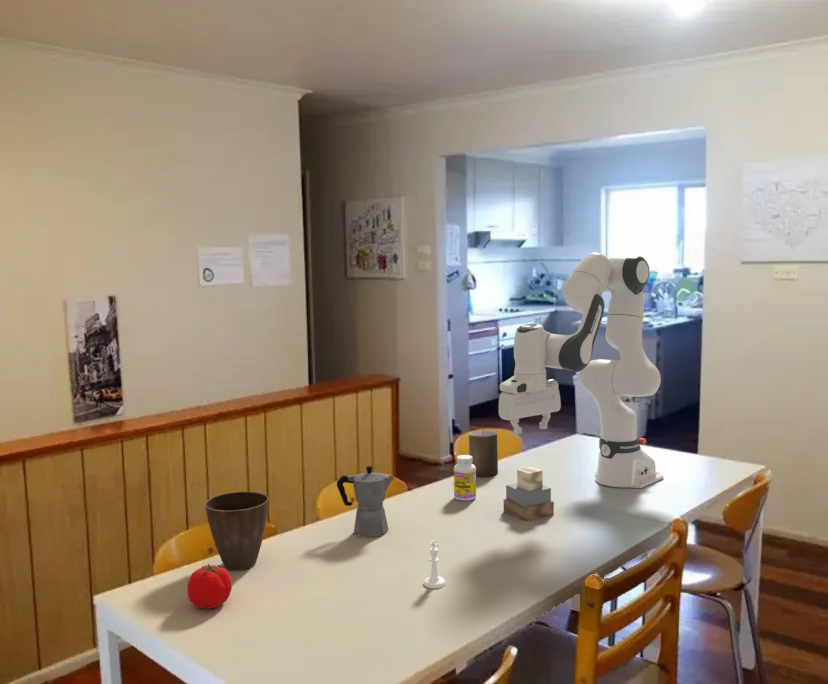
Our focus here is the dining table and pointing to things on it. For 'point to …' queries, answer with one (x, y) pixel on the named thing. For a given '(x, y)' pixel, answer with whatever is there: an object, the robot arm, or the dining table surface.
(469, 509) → the dining table surface
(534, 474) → the birch block
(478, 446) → the pillar candle
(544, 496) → the tower top
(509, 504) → the tower base
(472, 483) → the supplement bottle
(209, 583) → the tomato
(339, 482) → the coffeepot
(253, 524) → the plant pot
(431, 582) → the chess piece
